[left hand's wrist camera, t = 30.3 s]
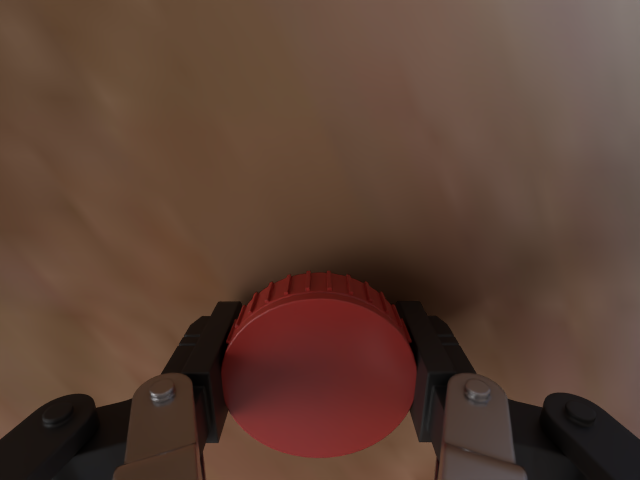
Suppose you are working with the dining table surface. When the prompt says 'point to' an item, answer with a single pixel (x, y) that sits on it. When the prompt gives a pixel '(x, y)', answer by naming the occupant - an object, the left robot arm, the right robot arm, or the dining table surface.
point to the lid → (318, 366)
